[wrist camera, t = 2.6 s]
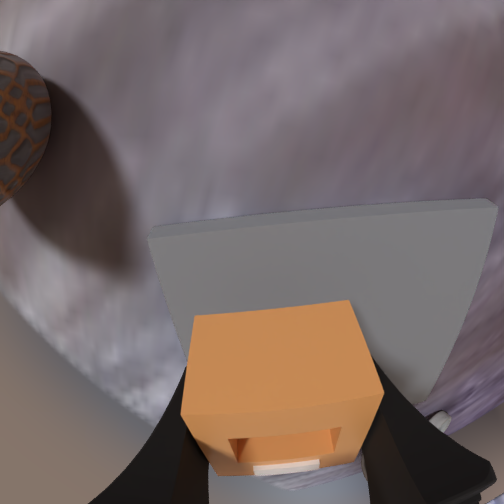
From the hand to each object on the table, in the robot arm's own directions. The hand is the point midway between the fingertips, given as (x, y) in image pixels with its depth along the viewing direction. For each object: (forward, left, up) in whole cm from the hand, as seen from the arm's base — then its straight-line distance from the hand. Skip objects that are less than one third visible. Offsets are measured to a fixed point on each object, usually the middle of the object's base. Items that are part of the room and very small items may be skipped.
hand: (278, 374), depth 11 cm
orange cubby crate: (0, 0, -1) cm, 1 cm away
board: (-4, +5, -6) cm, 9 cm away
